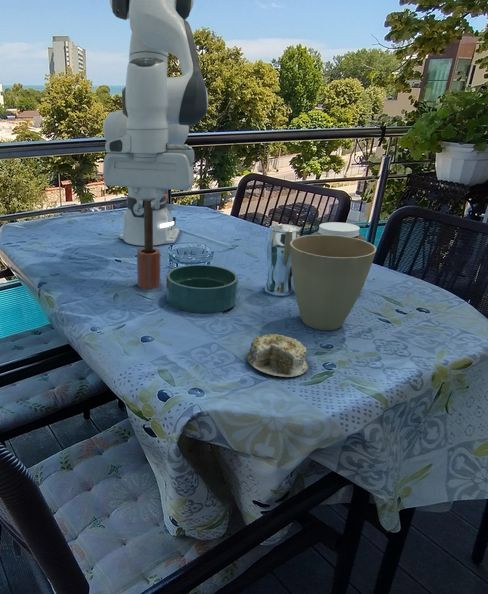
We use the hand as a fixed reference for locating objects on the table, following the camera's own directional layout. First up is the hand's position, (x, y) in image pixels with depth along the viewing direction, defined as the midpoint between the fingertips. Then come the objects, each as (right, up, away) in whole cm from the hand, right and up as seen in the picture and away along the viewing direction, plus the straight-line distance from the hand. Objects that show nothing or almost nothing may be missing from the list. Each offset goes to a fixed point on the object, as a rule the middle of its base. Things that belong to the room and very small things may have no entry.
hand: (148, 208), depth 104 cm
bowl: (+12, -21, -1) cm, 24 cm away
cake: (+21, -31, -26) cm, 46 cm away
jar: (+42, -18, +4) cm, 46 cm away
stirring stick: (0, -11, +5) cm, 12 cm away
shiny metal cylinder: (+30, -19, +4) cm, 36 cm away
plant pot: (+34, -25, -12) cm, 44 cm away
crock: (0, -18, +7) cm, 19 cm away
